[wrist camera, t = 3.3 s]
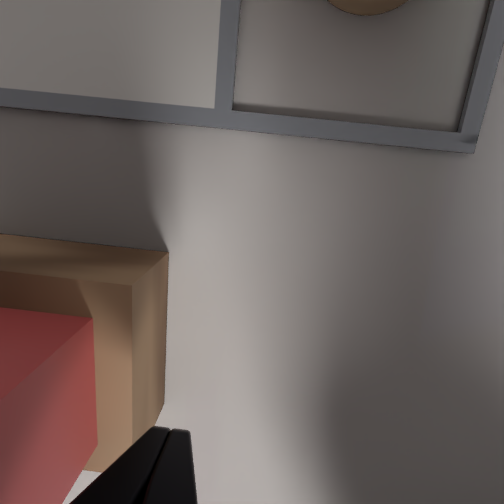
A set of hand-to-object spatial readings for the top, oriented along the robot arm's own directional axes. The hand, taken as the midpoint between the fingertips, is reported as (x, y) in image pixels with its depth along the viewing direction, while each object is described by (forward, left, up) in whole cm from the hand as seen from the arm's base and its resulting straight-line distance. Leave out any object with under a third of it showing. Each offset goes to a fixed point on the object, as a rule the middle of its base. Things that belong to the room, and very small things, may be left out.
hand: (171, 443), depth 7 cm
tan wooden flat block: (+4, 0, -5) cm, 6 cm away
